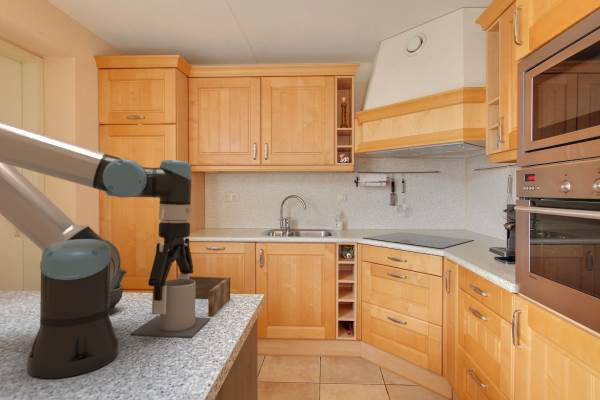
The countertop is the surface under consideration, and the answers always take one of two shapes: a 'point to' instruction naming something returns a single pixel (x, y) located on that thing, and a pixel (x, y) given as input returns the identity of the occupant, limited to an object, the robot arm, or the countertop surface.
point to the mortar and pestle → (116, 290)
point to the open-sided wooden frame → (210, 291)
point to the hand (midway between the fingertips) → (172, 305)
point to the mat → (154, 330)
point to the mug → (179, 305)
